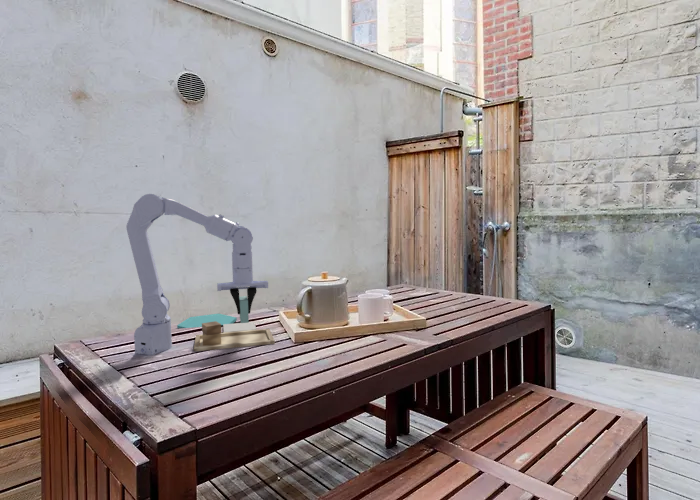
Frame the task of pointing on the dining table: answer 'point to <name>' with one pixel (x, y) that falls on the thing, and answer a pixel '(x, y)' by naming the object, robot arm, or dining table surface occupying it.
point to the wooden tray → (237, 340)
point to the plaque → (206, 320)
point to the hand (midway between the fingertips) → (243, 313)
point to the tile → (239, 327)
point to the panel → (243, 309)
